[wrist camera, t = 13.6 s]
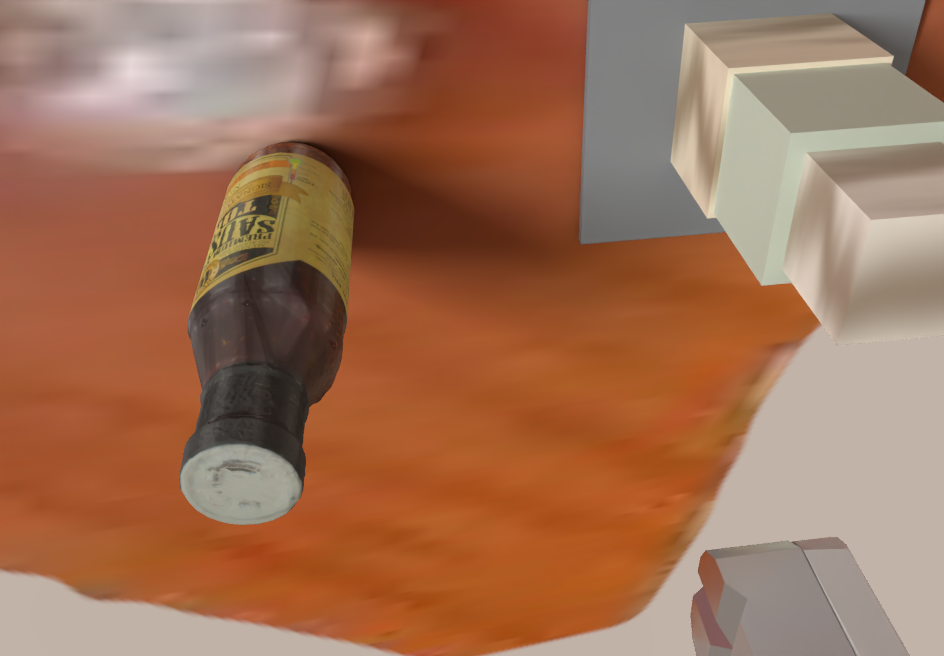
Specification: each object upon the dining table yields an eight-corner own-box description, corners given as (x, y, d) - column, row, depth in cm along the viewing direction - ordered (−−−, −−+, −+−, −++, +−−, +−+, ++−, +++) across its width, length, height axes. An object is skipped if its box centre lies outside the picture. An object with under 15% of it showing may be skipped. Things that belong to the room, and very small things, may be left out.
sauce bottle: (274, 110, 41) (215, 371, 25) (379, 183, 44) (385, 460, 28) (202, 206, 44) (108, 498, 28) (305, 269, 47) (273, 567, 31)
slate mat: (591, -78, 38) (594, -75, 37) (944, -101, 38) (951, -98, 38) (578, 238, 47) (580, 244, 47) (861, 214, 48) (866, 220, 47)
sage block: (733, 73, 35) (790, 133, 31) (886, 62, 36) (967, 119, 31) (713, 213, 39) (761, 285, 34) (851, 201, 40) (918, 271, 35)
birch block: (685, 23, 40) (728, 68, 35) (831, 13, 40) (893, 56, 36) (670, 161, 44) (707, 218, 39) (803, 151, 45) (855, 206, 40)
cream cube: (806, 152, 31) (871, 219, 27) (939, 141, 31) (1023, 207, 27) (782, 269, 34) (837, 345, 30) (903, 258, 34) (974, 332, 30)
